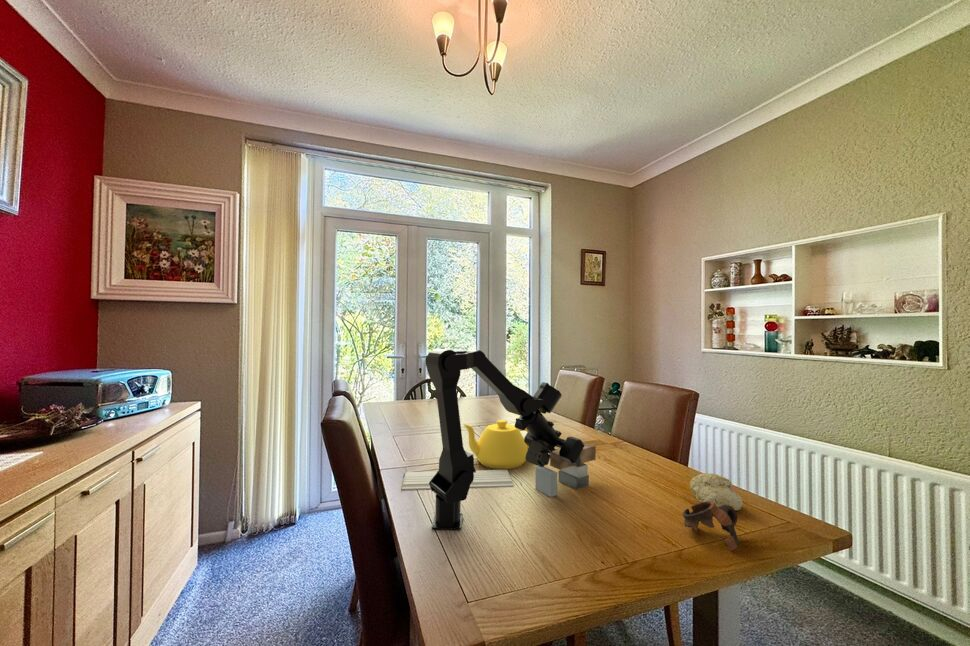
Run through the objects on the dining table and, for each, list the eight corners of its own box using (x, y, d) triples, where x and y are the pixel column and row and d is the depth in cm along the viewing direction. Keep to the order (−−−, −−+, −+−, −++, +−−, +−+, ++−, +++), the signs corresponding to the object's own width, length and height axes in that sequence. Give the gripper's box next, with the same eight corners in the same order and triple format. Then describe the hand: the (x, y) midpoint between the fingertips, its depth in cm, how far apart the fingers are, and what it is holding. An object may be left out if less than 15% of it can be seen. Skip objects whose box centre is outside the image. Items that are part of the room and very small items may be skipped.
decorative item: (675, 484, 97) (694, 461, 102) (687, 512, 98) (705, 489, 103) (723, 496, 87) (741, 470, 92) (736, 528, 87) (753, 501, 92)
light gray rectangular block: (550, 497, 97) (550, 474, 98) (535, 488, 102) (535, 467, 102) (557, 494, 99) (557, 472, 99) (541, 487, 104) (542, 465, 104)
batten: (559, 469, 101) (559, 454, 101) (550, 465, 104) (550, 451, 104) (595, 459, 109) (595, 446, 109) (586, 456, 112) (586, 442, 112)
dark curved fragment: (726, 560, 72) (701, 516, 75) (690, 556, 80) (669, 517, 82) (761, 531, 77) (736, 491, 80) (723, 530, 85) (702, 494, 88)
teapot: (467, 474, 112) (467, 429, 113) (457, 455, 130) (457, 416, 130) (543, 468, 118) (543, 425, 119) (524, 450, 136) (524, 413, 136)
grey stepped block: (576, 489, 102) (576, 467, 102) (558, 481, 108) (558, 460, 108) (588, 485, 105) (588, 464, 105) (570, 477, 111) (570, 457, 111)
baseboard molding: (514, 490, 102) (507, 474, 114) (514, 480, 103) (507, 465, 115) (400, 494, 99) (405, 477, 111) (401, 483, 99) (405, 467, 111)
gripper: (500, 442, 104) (530, 473, 110) (546, 461, 88) (578, 497, 94) (522, 411, 108) (549, 442, 114) (570, 424, 93) (598, 460, 99)
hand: (567, 460), depth 105 cm, fingers open, 9 cm apart
